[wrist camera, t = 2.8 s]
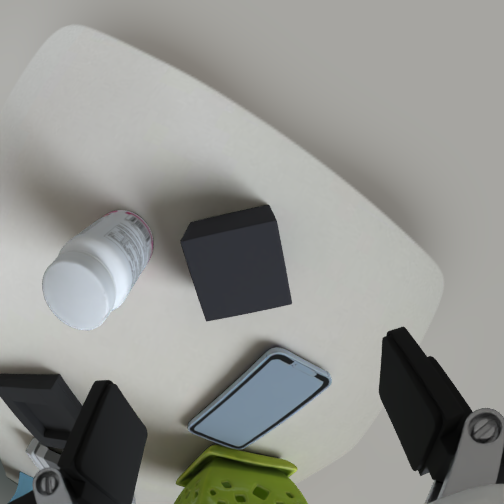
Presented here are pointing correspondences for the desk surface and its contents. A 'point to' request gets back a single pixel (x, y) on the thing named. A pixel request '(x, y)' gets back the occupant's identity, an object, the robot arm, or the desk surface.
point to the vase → (23, 486)
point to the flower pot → (238, 479)
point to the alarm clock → (45, 457)
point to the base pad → (42, 405)
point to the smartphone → (260, 399)
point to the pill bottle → (97, 269)
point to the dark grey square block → (237, 263)
